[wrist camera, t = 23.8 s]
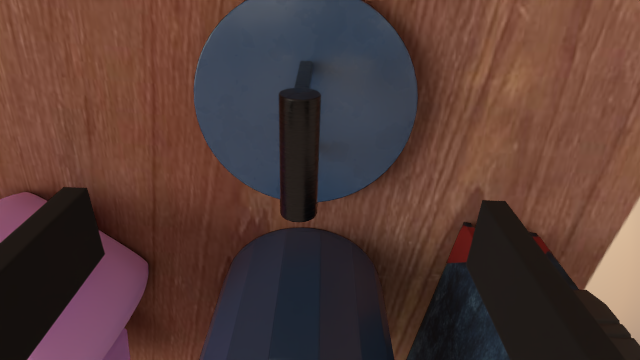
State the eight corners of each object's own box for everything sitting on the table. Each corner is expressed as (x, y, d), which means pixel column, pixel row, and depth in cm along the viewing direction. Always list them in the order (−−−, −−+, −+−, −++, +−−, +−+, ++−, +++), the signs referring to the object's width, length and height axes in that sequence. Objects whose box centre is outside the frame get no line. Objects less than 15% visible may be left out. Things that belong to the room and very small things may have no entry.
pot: (388, 230, 31) (418, 364, 20) (372, 344, 37) (389, 492, 26) (220, 224, 30) (168, 356, 20) (231, 340, 36) (196, 486, 26)
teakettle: (124, 177, 29) (1, 311, 18) (183, 342, 37) (123, 504, 26) (-104, 193, 29) (-355, 330, 19) (2, 351, 38) (-129, 511, 27)
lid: (430, -12, 23) (487, 4, 15) (399, 197, 29) (427, 287, 21) (186, -21, 23) (110, -10, 15) (209, 190, 29) (165, 278, 21)
